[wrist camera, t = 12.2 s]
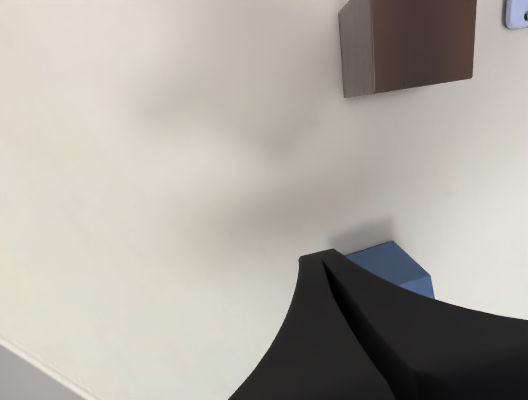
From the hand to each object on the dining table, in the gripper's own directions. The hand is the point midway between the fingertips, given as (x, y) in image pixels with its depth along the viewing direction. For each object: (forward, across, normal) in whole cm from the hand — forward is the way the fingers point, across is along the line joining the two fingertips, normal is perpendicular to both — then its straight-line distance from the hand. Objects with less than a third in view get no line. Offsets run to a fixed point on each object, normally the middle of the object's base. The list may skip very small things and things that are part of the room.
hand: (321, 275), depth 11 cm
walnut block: (+9, -7, -8) cm, 14 cm away
